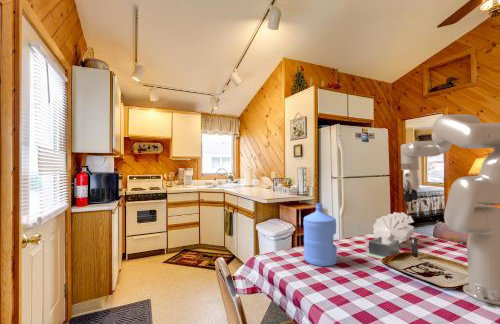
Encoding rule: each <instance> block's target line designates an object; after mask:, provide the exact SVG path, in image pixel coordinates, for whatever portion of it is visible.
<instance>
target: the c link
mask: <svg viewBox="0 0 500 324" xmlns="http://www.w3.org/2000/svg"><path fill="white" fill-rule="evenodd" d="M398 252H400V244H399V240H395V241H393V242H392V243H390V244H383V243H382V237H377V238H375V237H374V238H373V239H372V240H369V241H368V253H369V254H373V255H377V256H381V257H387V256H391V255H394V254H397V253H398Z"/></svg>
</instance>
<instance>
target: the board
mask: <svg viewBox="0 0 500 324" xmlns="http://www.w3.org/2000/svg"><path fill="white" fill-rule="evenodd" d="M398 253H400V254H401V251H399V252H398ZM398 253H397V254H398ZM366 257H371V258H375V259H378V260H382V259H383V258H385V257H381V256H377V255H373V254H369V252H368V253H366Z"/></svg>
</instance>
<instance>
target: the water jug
mask: <svg viewBox="0 0 500 324" xmlns="http://www.w3.org/2000/svg"><path fill="white" fill-rule="evenodd" d="M336 233H337V220H336V218H335V217H333V216H331V215H329V214H327V213H326V212H324V211H323V203H322V202H321V203H320V202H316V203H315V211H314V212H312V213H310V214H308V215H305V216H304V217H303V246H304V247H303V248H304V249H303V251H304V253H303V258H304V261H305V262H306V263H308V264H310V265H312V266H318V267H331V266H334V265H336V264H337V262H338V256H337V255H338V254H337V252H338V251H337V249H338V248H337V246H336V244H334V235H335V234H336Z"/></svg>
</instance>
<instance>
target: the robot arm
mask: <svg viewBox="0 0 500 324" xmlns="http://www.w3.org/2000/svg"><path fill="white" fill-rule="evenodd" d="M431 139H432V140H426V141H425V140H420V141H417V140H416V141H411V142H408V143H403V144H401V145H400V168H401V171H403V172H402V182H403V183H402V185H403V191H404V192H403V193H404V194H403V195H404V203H406V202H408V203H412V202H413V201H418V190H419V189H420V180H419V172H418V171H419V170H420V169H419V167H420V165H419V164H420V163H419V158H428V157H429V158H430V157H432V158H433V157H437V156H440V155H442V154H445V153H447V152H448V151H450V150H451V148H452V145H454V146H456V147H459V148H462V149H467V150H468V149H470V150H471V149H474V150H475V149H492V150H493V151H492V152H490V153H489V154H488V155H487V156H486V157H485V158H484V160H483V161H482V163H481V167H480V171H479V173H478V174H477V175H467V176H462V177H458V178H457V179H455V181H453V183H452V184H451V186H450V188H449V191H448V195H447V201H446V204H445V209H444V214H443V219H444V224H446V227H448V229H450V230H451V231H453V232H455V233H456V232H457V233H460V234H461V233H462V234H463V233H465V234H466V233H469V235H468V237H467V240H466V252H467V253H466V255H467V276H468V284H465V285H463V287H462V290H463V292H464V293H465V294H467V295H468V296H469V297H471V298H473V299H475V300H477V301H481V302H483V303H487V304H492V305H495V306H500V207H498V206H494V205H500V122H487V123H485V122H484V123H483V122H482V121H481V120H480V118H479V117H478V116H476V115H474V114H467V113H466V114H463V113H462V114H461V113H460V114H444V115H441V116H439V117H438V118H436V120H435V121H434V122H433V125H432V133H431Z"/></svg>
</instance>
